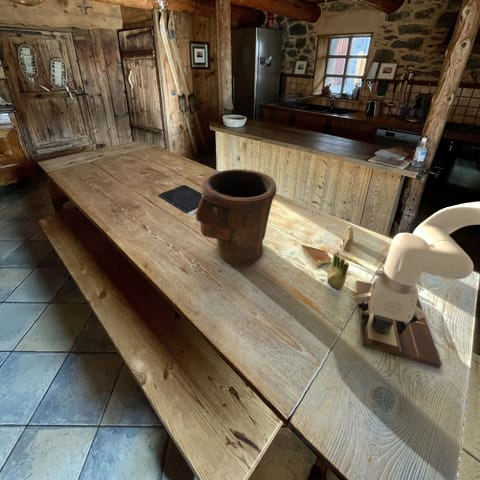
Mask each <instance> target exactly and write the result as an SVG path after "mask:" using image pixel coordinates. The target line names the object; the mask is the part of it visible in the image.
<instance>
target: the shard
mask: <svg viewBox="0 0 480 480" xmlns="http://www.w3.org/2000/svg"><path fill="white" fill-rule="evenodd" d="M300 246H301V249H302V250H303V251H304V252H305V253H306V254H307V255H308V256H309V258H311V260H312V261H313V262H314V263H315V265H316V266H317V267H319V266H322V265H323V264H330V262H331V261H333V257H331V256H330V255H329V253H328V251H325V250H323V249H319V248H316V247H312V246H307V245H304V244H300Z"/></svg>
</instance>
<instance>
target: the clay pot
mask: <svg viewBox="0 0 480 480" xmlns="http://www.w3.org/2000/svg"><path fill="white" fill-rule="evenodd" d="M277 190H278V189H277V183H276V181H275V179H274V178H273V177H272V176H270V175H269V174H267V173H264V172H262V171H258V170H251V169H244V168H243V169H241V168H231V169H224V170H219V171H216V172H213V173H211V174H209V175H207V176H206V177H204V180H203V182H202V184H201V198H200V201H199V204H198V206H197V209H196V214H195V219H196V221H197V222H199V224H200V225H199V227H200V233H201V234H202V236H204V237H205V238H210V239H215V240H216V245H217V248H216V252H217V254H218V256H219V257H220V259H221V260H223V261H224V262H225V263H228V264H230V265H233V266H246V265H251V264H254V263H255V262H256V261H258V260H260V259H262V256H263V255H264V247H263V245H264V239H265V237H266V232H267V226H268V221H269V217H270V213H271V207H272V204H273V200H274V199H275V196H276V194H277Z"/></svg>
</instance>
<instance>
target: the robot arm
mask: <svg viewBox="0 0 480 480" xmlns="http://www.w3.org/2000/svg"><path fill="white" fill-rule="evenodd" d="M474 225H476V226H477V225H480V201H472V202H465V203H460V204H457V205H456V204H455V205H452V206H448V207H445V208H442V209H440V210H438V211H437V212H434V213H433V214H432V215H430V216H429V217H428V218H426V219H425V220H423V222H420V223H419V225H418V226H417V227H416V228H415V229H414V231H412V232H411V233H410V232H400V233H397V234H396V235H395V236H394V237H393V239H392V241H391V245H390V247H389V251H388V253H387V256H386V259H385V263H384V265H383V266H382V269H381V270H378V269H376V270H375V276H376V278H375V279H374V280H373V283H371V284H372V286H371V288H370V291H369V293H364V294H358V295H357V294H355V295H354V300H355V302H356V304H357V306H358V305H359V307H360V309H361V310H362V314H361V319H362V320H363V322H364V325H367V323H368V320H369V317H370V315H369V314H370V313H373V314H376V315H379V316H383V317H387V318H391V319H395V320H397V323H396V327H397V331H398V334H399V335H402V332H403V331H405V329H406V326H409V325H410V323H412V322H416V321H418V319H421V318H424V317H425V318H426V315H425V312H424V311H422V310H423V309H422V310H421V309H420V308H418V307H417V306H416V303H417V298H418V299H419V290H418V287H417V285H418V283H419V281H420V278H421V276H422V274H423V273H424V274H428V275H432V276H435V277H439V278H442V279H446V280H463V279H465V278H468V277H470V276H471V275H472V273H473V271H474V267H475V266H474V263H473V260H472V259H471V257H470V256H469V255H468V254H467V253H466V252H465V250H464V249H463V248H462V247H461V246H460V245H459V244H458V243H457V242H456V241H455V240H454V239H453V238H452V237H451V236H450V235H451V234H452V233H453V232H455V231H457V230H458V229H461V228H464V227H467V226H474ZM365 300H369V301H367V302H365V303H364V302H363V301H365ZM414 312H415V313H414Z"/></svg>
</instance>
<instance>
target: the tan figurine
mask: <svg viewBox="0 0 480 480" xmlns="http://www.w3.org/2000/svg"><path fill="white" fill-rule="evenodd" d="M353 244H354V229H353V227H351V226H350V225H349V226H347V227H346V229H345V231H344V233H343V234H342V241H341V244H340V245H339V247H338V249H337V251H336V253H337V254H338V255H339V252H340V250H341V248H342V249H343V250H344V251H346V252H348V251H350V249H351V248H352V246H353Z"/></svg>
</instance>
